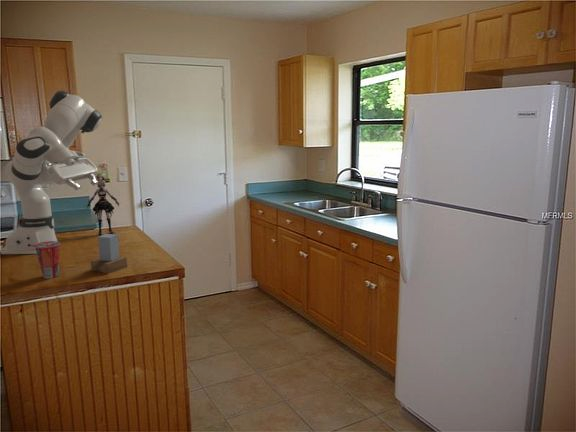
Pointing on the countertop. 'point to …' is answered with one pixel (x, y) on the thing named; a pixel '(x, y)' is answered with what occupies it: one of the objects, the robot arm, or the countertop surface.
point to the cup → (48, 258)
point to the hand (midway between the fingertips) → (87, 186)
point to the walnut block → (108, 265)
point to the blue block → (108, 247)
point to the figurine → (102, 203)
